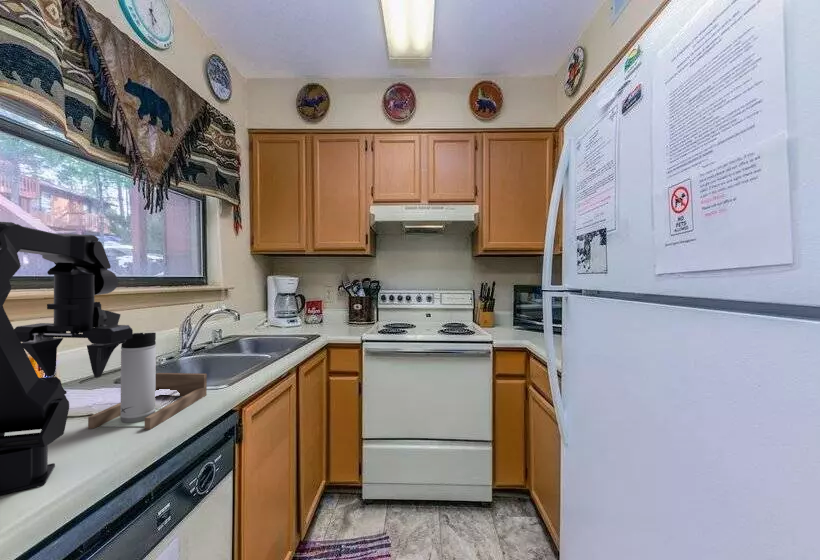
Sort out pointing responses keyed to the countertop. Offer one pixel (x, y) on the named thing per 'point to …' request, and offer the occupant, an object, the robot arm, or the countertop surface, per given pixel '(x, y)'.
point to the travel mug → (138, 377)
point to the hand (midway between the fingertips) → (74, 376)
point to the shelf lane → (184, 383)
